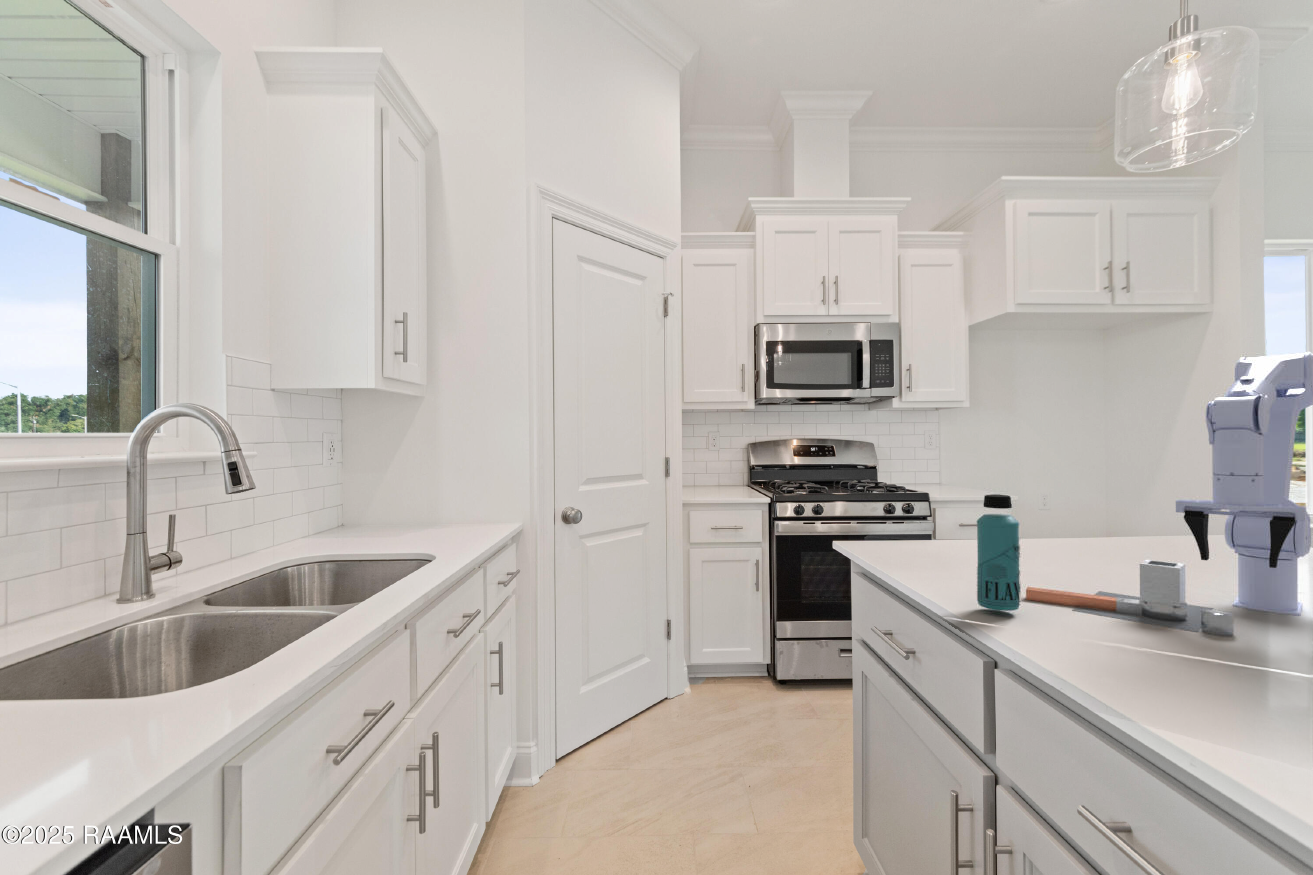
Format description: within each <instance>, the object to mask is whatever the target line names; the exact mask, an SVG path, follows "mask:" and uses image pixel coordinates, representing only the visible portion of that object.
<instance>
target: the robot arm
mask: <svg viewBox="0 0 1313 875" xmlns="http://www.w3.org/2000/svg"><path fill="white" fill-rule="evenodd" d="M1312 406H1313V352H1312V351H1307V352H1305V353H1294V354H1283V355H1282V354H1280V355H1269V356H1267V355H1266V356H1257V357H1254V356H1253V357H1247V356H1244V357H1240V358H1239V359H1238V360H1237V361H1236V363H1235V366H1234V382H1233V383H1232V384H1231V385H1230V387H1229V388H1228V389H1227V391H1225V394H1224V395H1223V396H1222V397H1216V398H1215V399H1214V400H1213V401H1212V400H1211V401H1208V402H1207V405H1206V408H1205V410H1206V411H1205V422H1206V428H1207V432H1208V444H1209V445H1211V447H1212V449H1211V452H1212V453H1211V455H1212V460H1211V461H1212V462H1211V465H1212V468H1211V469H1212V500H1203V499H1202V500H1201V499H1198V500H1197V499H1176V500H1175V513H1181V514H1182V513H1183V514H1184V515H1183V520H1184V522H1185V523H1186V524H1187V526H1188V527H1189V529H1190V531H1191V534H1192V536H1193V538H1194V540H1195V541H1196V545H1197V547H1198V550H1199V551H1198V552H1199V554H1200V560H1201V561H1208V560H1209V559H1210V548H1209V547H1210V546H1209V518H1210V516H1209V515H1219V516H1221V515H1222V516H1227V517H1226V520H1225V522H1224V523H1225V524H1224V540H1225V543H1226V545H1227V546H1228V547H1229V548H1230V549H1231V550H1234V553H1235V554H1237V577H1238V578H1237V589H1238V590H1237V592H1238V593H1237V596H1236V598H1235V600H1234V601H1233V604H1232V606H1233V607H1234V608H1235V607H1236V608H1243V609H1249V610H1256V611H1262V612H1263V611H1264V612H1270V613H1278V614H1284V615H1291V616H1297V617H1299V616H1302V615H1301V614H1302V611H1303V602H1300V601H1299V600H1298V599H1299V598H1298V596H1299V595H1298V594H1299V593H1298V588H1299V587H1298V586H1299V584H1298V583H1299V582H1298V580H1299V579H1298V576H1299V575H1298V573H1299V572H1298V571H1299V570H1298V568H1299V567H1298V559H1299V558H1302V557H1305V556H1306V555H1308V554H1309V553H1310V550H1311V545H1312V527H1311V517H1310V514H1309V513H1308V511H1307V506H1305V505H1303V506H1302V505H1299V504H1297V503H1296V502H1294V501H1292V500H1290V489H1291V480H1292V479H1291V477H1292V469H1293V458H1294V448H1295V441H1296V440H1295V439H1296V428H1297V423H1298V421H1299V417H1300V413H1301V412H1302V411H1303V410H1304V409H1306V408H1309V407H1312ZM1222 510H1225V511H1222ZM1227 510H1228V511H1227Z"/></svg>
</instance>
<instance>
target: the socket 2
mask: <svg viewBox="0 0 1313 875" xmlns="http://www.w3.org/2000/svg"><path fill="white" fill-rule="evenodd" d="M1234 618H1235V615H1234V614H1232V613H1229V612H1226V611H1221V610H1217V609H1216V610H1214V609H1213V610H1202V611H1201V628H1200V631H1201V632H1202V633H1204V634H1208V635H1212V636H1218V637H1226V638H1227V637H1234V635H1235V633H1234V632H1235V628H1234V626H1235V623H1234V621H1235V619H1234Z"/></svg>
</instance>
